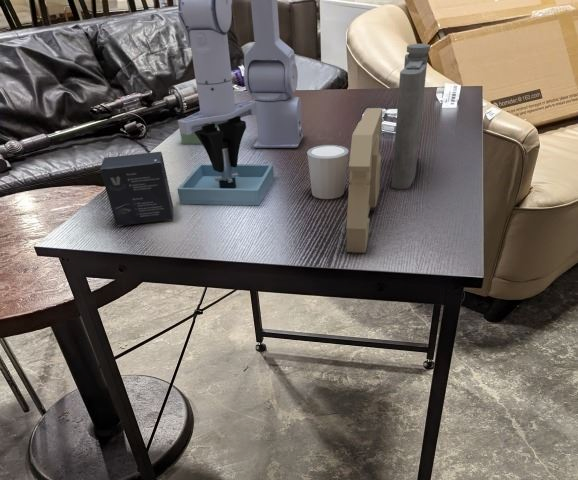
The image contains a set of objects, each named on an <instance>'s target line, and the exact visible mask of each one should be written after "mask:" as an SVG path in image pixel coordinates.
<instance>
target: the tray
mask: <svg viewBox="0 0 578 480" xmlns="http://www.w3.org/2000/svg"><path fill="white" fill-rule="evenodd" d="M231 171H232V174H234V173H237V174H238V176H239V177H236V178H235V180H236V188H235V189H226V188H220V187H219V181H215V177H219V176H221V174H220V172H217V171H215V170H214V169H213V166H212V164H211V163H199V164H198V165H197V166H196V167H195V168H194V169H193V171H192V172H191V173H190V174H189V175H188V176H187V177H186V178H185V179H184V181H183V182H182V183H181V184H180V185H179V186H178V187H177V188H176V190H177V196H178V200H179V204H181V205H219V206H221V205H222V206H223V205H224V206H225V205H226V206H230V205H231V206H260V205H261V204H262V201H263V199H264V198H265V196H266V195H267V193H268V191H269V189H270V187H271V186H272V183H273V182H274V179H275V172H274V164H258V163H257V164H253V163H252V164H250V163H249V164H247V163H246V164H245V163H244V164H243V163H242V164H240V163H237V167H235V168H234V167H231Z"/></svg>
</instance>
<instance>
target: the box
mask: <svg viewBox="0 0 578 480" xmlns="http://www.w3.org/2000/svg"><path fill="white" fill-rule="evenodd" d="M166 171H167V170H166V166H165V161H164V157H163V152H162V151H154V152H153V151H152V152H144V153H136V154H135V153H134V154H125V155H117V156H109V157H107V156H106V157H104V158H103V160H102V163H101V165H100V168H99V172H100V175H101V178H102V182H103V185H104V188H105V191H106V194H107V197H108V201H109V205H110V209H111V212H112V215H113V219H114V223H115V225H116V227H117V228H120V227H124V226H130V225H137V224H145V223H155V222H162V221H168V222H169V221H173V220H174V205H173V200H172V195H171V189H170V185H169V180H168V174H167V172H166Z"/></svg>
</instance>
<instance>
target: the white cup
mask: <svg viewBox="0 0 578 480" xmlns="http://www.w3.org/2000/svg"><path fill="white" fill-rule="evenodd" d="M349 153H350V151H349V149H348V148H347V147H346V146H343V145H337V144H322V145H316V146H314V147H311V148H310V149H308V150H307V152H306V155H307V164H308V172H309V182H310V189H311V194H312V196H313V197H314V198H316V199H320V200H332V199H333V200H334V199H337V198H341V197H342V196H343V195H344V194H345V188H346V179H347V171H348V170H347V169H348V163H349V162H348V160H349Z"/></svg>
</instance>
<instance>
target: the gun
mask: <svg viewBox="0 0 578 480" xmlns="http://www.w3.org/2000/svg"><path fill="white" fill-rule="evenodd" d="M382 121H383V107H367V108H366V109H365V112H364V114H363V116H362V117H361V118H360V121H358V123H357V125H356V127H355V129H354V130H353V132H352V134H351V143H350V151H349V162H348V172H349V179H348V182H349V183H350V184H349V185H348V195H347V209H346V210H347V211H346V212H347V213H346V253H362V254H364V253H366V252H367V247H368V246H367V245H368V239H369V234H370V233H369V232H370V217H369V214H370V211H374V210H375V209H376V207H377V203H378V200H379V194H380V189H381V169H382V155H381V154H380V146H381V145H380V144H381V136H382Z"/></svg>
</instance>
